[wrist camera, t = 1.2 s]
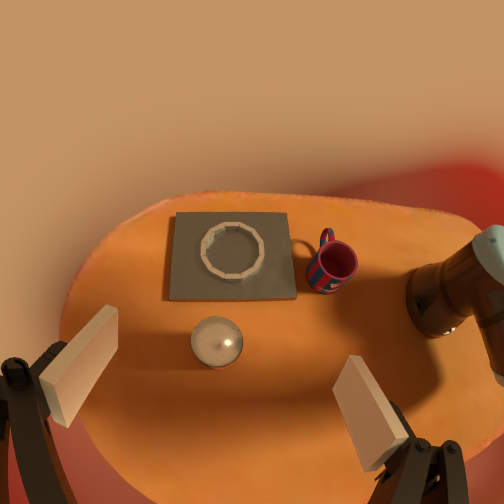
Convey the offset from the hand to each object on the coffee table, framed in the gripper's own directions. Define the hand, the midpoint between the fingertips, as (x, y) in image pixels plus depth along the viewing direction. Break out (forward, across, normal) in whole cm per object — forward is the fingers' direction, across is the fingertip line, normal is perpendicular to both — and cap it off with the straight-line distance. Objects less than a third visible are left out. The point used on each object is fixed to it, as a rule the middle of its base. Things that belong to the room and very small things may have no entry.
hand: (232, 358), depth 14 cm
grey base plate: (+33, 0, -4) cm, 33 cm away
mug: (+33, +16, -2) cm, 36 cm away
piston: (+22, +1, -16) cm, 27 cm away
